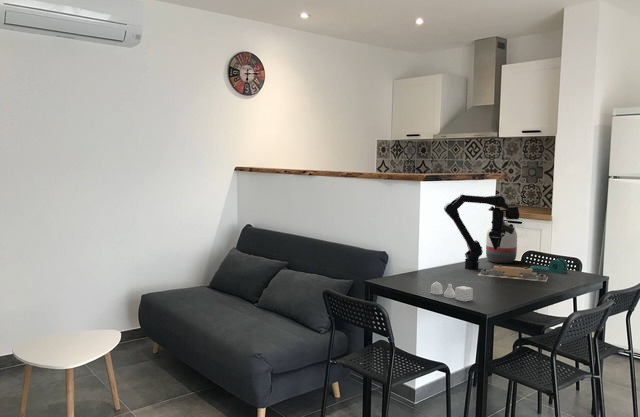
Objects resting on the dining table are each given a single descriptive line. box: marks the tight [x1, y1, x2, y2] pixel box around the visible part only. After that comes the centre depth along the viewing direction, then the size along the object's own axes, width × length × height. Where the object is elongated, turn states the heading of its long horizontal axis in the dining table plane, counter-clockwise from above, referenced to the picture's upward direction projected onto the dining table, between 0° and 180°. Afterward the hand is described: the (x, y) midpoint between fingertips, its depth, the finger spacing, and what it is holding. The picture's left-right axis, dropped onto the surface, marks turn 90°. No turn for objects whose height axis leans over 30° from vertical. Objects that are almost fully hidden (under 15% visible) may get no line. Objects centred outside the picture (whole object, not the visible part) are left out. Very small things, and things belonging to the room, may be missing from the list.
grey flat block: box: [522, 271, 547, 280], centre depth 258 cm, size 10×6×2 cm, turn 63°
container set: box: [430, 281, 474, 302], centre depth 225 cm, size 20×5×6 cm, turn 35°
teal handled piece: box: [529, 258, 569, 275], centre depth 277 cm, size 18×7×8 cm, turn 42°
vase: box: [485, 220, 518, 264], centre depth 307 cm, size 17×17×24 cm
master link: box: [492, 264, 533, 277], centre depth 262 cm, size 18×4×5 cm, turn 64°
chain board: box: [477, 271, 549, 282], centre depth 263 cm, size 32×12×1 cm, turn 63°
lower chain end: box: [480, 268, 504, 276], centre depth 267 cm, size 10×6×2 cm, turn 63°
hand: (497, 248), depth 280 cm, fingers open, 9 cm apart
